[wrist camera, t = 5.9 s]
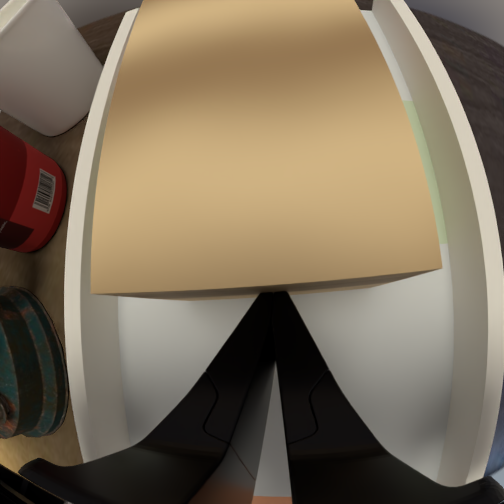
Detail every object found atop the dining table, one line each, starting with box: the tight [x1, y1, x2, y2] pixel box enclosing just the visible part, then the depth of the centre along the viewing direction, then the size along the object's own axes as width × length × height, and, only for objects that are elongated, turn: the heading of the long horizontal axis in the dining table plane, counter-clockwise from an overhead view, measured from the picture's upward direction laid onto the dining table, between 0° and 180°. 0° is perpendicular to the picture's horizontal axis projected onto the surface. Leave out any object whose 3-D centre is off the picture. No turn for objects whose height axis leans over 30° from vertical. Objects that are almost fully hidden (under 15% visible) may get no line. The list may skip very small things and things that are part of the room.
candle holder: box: [0, 0, 103, 136], centre depth 16 cm, size 10×10×12 cm
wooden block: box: [91, 0, 443, 301], centre depth 10 cm, size 12×8×7 cm, turn 3°
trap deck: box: [64, 0, 504, 504], centre depth 13 cm, size 40×18×6 cm, turn 2°
